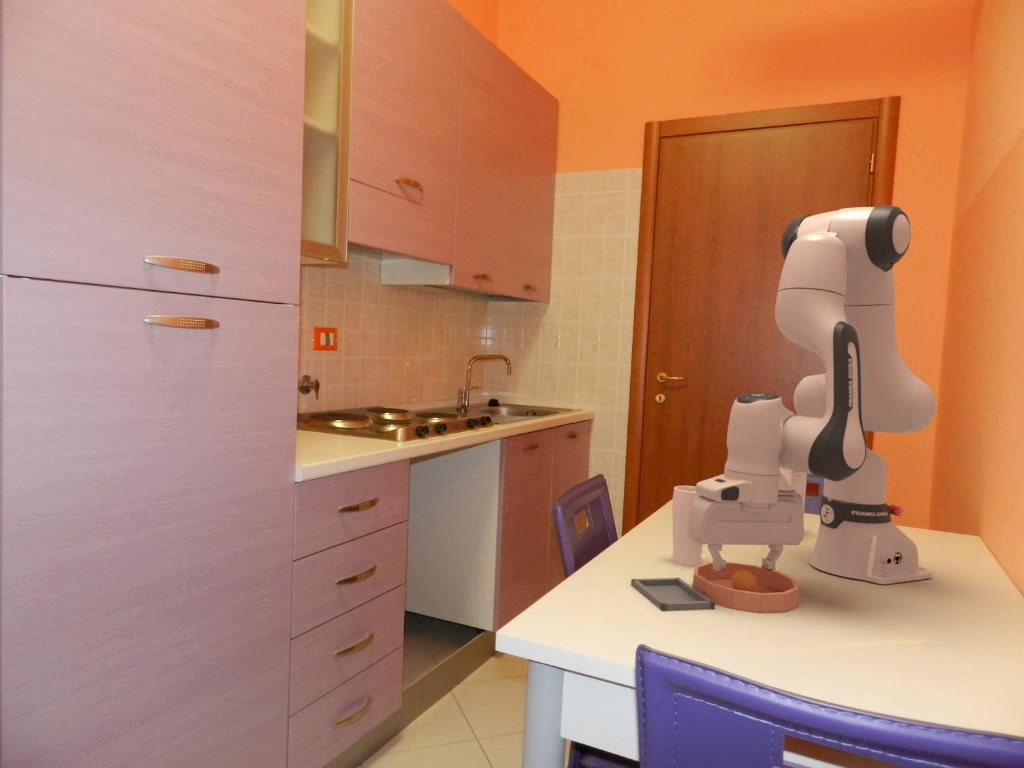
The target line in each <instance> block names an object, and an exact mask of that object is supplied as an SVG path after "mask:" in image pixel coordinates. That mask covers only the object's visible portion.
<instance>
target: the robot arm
mask: <svg viewBox="0 0 1024 768" xmlns="http://www.w3.org/2000/svg"><path fill="white" fill-rule="evenodd" d="M911 235H912V234H911V224H910V219H909V217H908V216H907V214H906V213H905V212H904V211H903V210H902V208H900V207H899V206H894V205H888V204H887V205H886V204H885V205H883V204H878V205H876V206H860V207H859V206H857V207H856V206H855V207H847V208H846V207H845V208H840V209H838V210H832V211H826V212H822V213H817V214H814V215H811V214H807V215H803V216H800V217H797V218H795V219H794V220H791V221H790V222H789V224H788V225H787V226H786V227H785V229H784V231H783V233H782V235H781V239H780V240H781V241H780V243H781V244H780V249H781V255H782V258H783V259H784V260H783V261H784V263H783V267H782V270H781V274H780V278H779V283H778V289H777V293H776V300H775V307H774V318H775V319H774V320H775V323H776V326H777V328H778V330H779V331H780V333H781V334H782V336H784V337H785V338H786V339H787V340H789V341H790V342H792V343H793V344H795V345H798V346H799V347H802V348H804V349H806V350H808V351H809V352H812V353H814V354H815V355H816V356H817V357H818V358H819V359H820V360H821V363H822V364H823V366H824V369H825V373H820V374H813V375H806V376H805V377H803V378H802V379H801V380H800V381H799V383H798V384H797V386H796V388H795V390H794V393H793V396H792V397H793V398H792V401H793V407H794V410H795V412H796V414H795V413H794V412H793V411H791V410H789V409H788V408H786V406H785V405H784V404H783V400H782V397H781V396H780V395H778V394H776V393H771V392H749V393H744V394H741V395H739V396H738V397H736V398H735V400H733V403H732V406H731V410H730V414H729V418H728V419H729V420H728V426H727V433H726V434H727V435H726V446H727V458H726V461H725V464H724V469H723V470H724V472H723V473H722V474H719V475H716V476H713V477H711V478H708V479H704V480H701V481H698V482H697V483H696V484H695V487H696V493H697V494H699V495H701V496H699V497H697V498H696V499H695V500H694V502H693V504H692V508H691V513H690V520H689V535H690V537H691V538H692V540H694V541H695V542H697V543H700V544H703V545H707V549H708V551H709V553H710V556H711V557H712V562H713V569H715V570H716V571H725V570H726V567H725V566H726V562H727V560H725V559H724V558H722V556H721V554H720V552H721V551H722V550H723V545H734V546H735V545H737V546H738V545H740V546H741V545H743V546H744V545H745V546H748V545H749V546H751V545H752V546H768V549H770V550H769V552H768V554H767V555H766V557H761V567H762V569H764V570H766V571H774V570H775V571H776V563H777V561H778V559H779V558H780V556H781V555H782V553H783V551H784V546H799V545H801V543H802V542H803V540H804V538H805V536H804V535H805V526H804V525H805V524H804V523H805V522H804V520H803V511H802V510H803V498H802V497H801V495H800V494H799V493H797V492H796V491H795V490H779V478H780V469H779V467H780V468H785V469H789V470H792V471H797V472H803V473H807V475H813V476H815V477H818V478H821V479H823V494H821V495H820V502H819V520H820V522H819V527H818V531H817V536H816V540H815V544H814V548H813V551H812V554H811V557H810V559H809V561H808V562H809V564H810V565H811V566H812V567H814V568H815V569H818V570H819V571H822V572H825V573H829V574H832V575H836V576H839V577H845V578H848V579H849V578H851V579H855V580H861V581H866V582H871V583H874V584H880V585H890V584H896V583H904V582H910V581H911V582H912V581H922V580H926V579H932V578H933V577H932V572H930V570H928V569H927V568H925V567H923V566H921V565H919V551H918V547H917V545H916V543H915V542H914V541H913V540H912V539H911V538H910V537H908V535H906V534H905V532H903V531H902V530H901V529H900V528H899V527H897V525H895V524H894V523H893V522H892V521H893V520H892V516H893V515H894V516H896V517H901V516H902V515H903V514H904V508H903V507H902V506H900V505H896V504H890V505H888V504H887V503H886V494H887V493H886V492H887V481H888V480H887V479H888V468H887V467H888V466H887V464H886V462H885V460H884V459H883V457H881V456H880V455H879V454H878V453H877V452H875V451H873V450H872V449H870V448H869V447H867V442H866V441H867V440H866V435H865V431H867V432H877V433H884V434H893V435H894V434H895V435H896V434H909V433H910V434H911V433H920V432H922V431H923V430H925V429H926V428H927V427H929V425H930V424H931V422H932V421H933V419H934V417H935V414H936V410H937V401H936V396H935V395H934V393H933V391H932V389H931V388H930V387H929V385H928V384H927V383H925V382H924V380H922V379H920V378H919V377H918V376H917V375H915V374H914V373H913V371H911V370H910V369H909V367H908V366H907V365H906V362H904V360H903V358H902V356H901V353H900V351H899V347H898V344H897V338H896V337H897V336H896V335H897V334H896V318H895V317H896V314H895V313H896V287H895V277H894V276H895V275H894V270H893V267H894V265H895V264H897V263H899V261H900V260H902V258H903V257H904V255H905V254H906V253H907V251H908V249H909V247H910V242H911ZM796 495H797V496H796ZM891 515H892V516H891Z"/></svg>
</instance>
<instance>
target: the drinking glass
mask: <svg viewBox="0 0 1024 768" xmlns="http://www.w3.org/2000/svg"><path fill="white" fill-rule="evenodd" d="M699 496H701V495H699V494H697V493H696V486H693V485H677V486H674V487H673V494H672V512H671V513H672V516H671V517H672V562H673V563H675V564H676V565H680V566H684V567H695V566H698V565H701V564H702V552H703V545H704V544H700V543H697V542H695V541H694V540H692V538H691V537H690V535H689V520H690V513H691V508H692V504H693V502H694V500H695V499H696V498H697V497H699Z"/></svg>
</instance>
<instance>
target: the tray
mask: <svg viewBox="0 0 1024 768" xmlns="http://www.w3.org/2000/svg"><path fill="white" fill-rule="evenodd" d="M630 580H631V581H630V582H631V583H630V586H632V588H634V589H635V590H636V591H638V592H639V594H641V595H643V597H645V598H646V599H647V600H648V601H649V602H650V603H652V604H653V605H654V606H656V607H657V608H658V609H659V610H661V611H662V612H675V611H677V612H678V611H679V612H680V611H700V610H703V611H704V610H715V608H716V607H715V606H716V603H715V602H713V601H712V600H710V599H709V598H708V597H706V596H705V595H703V594H702V593H700V592H699V591H697V590H696V589H694V588H693V585H690V584H688V583H687V582H686V581H684V580H683V579H681V578H680V577H661V578H659V577H658V578H631V579H630Z"/></svg>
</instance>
